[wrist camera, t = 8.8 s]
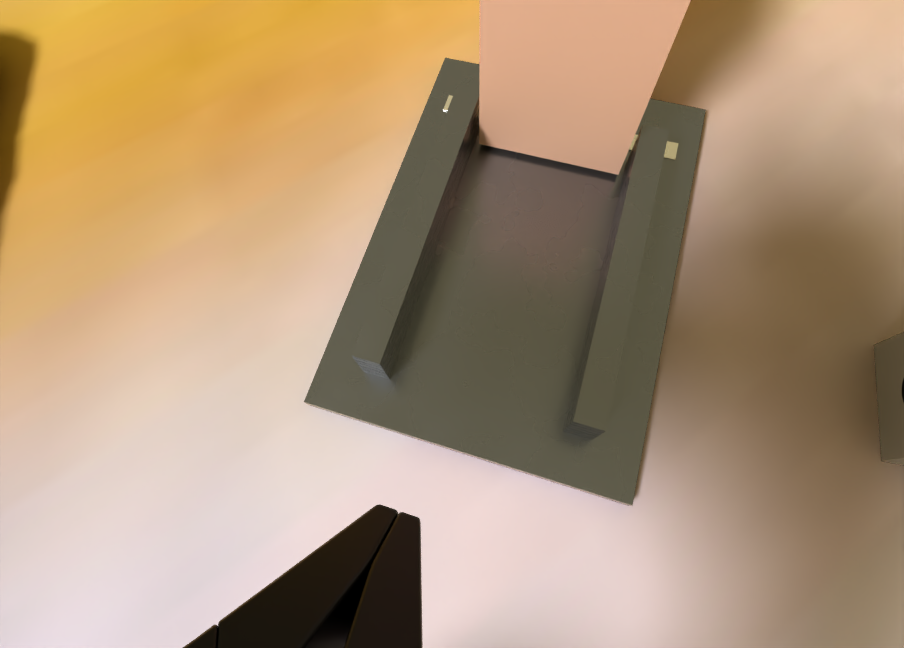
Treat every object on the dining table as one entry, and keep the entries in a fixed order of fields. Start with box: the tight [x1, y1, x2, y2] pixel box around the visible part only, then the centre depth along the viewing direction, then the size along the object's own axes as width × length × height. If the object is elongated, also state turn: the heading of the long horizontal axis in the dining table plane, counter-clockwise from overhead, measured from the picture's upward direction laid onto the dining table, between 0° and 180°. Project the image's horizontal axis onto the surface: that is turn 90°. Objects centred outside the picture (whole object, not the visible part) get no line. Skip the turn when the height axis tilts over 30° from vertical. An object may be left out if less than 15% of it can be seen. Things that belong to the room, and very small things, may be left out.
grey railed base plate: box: [304, 58, 706, 506], centre depth 23 cm, size 20×14×3 cm
